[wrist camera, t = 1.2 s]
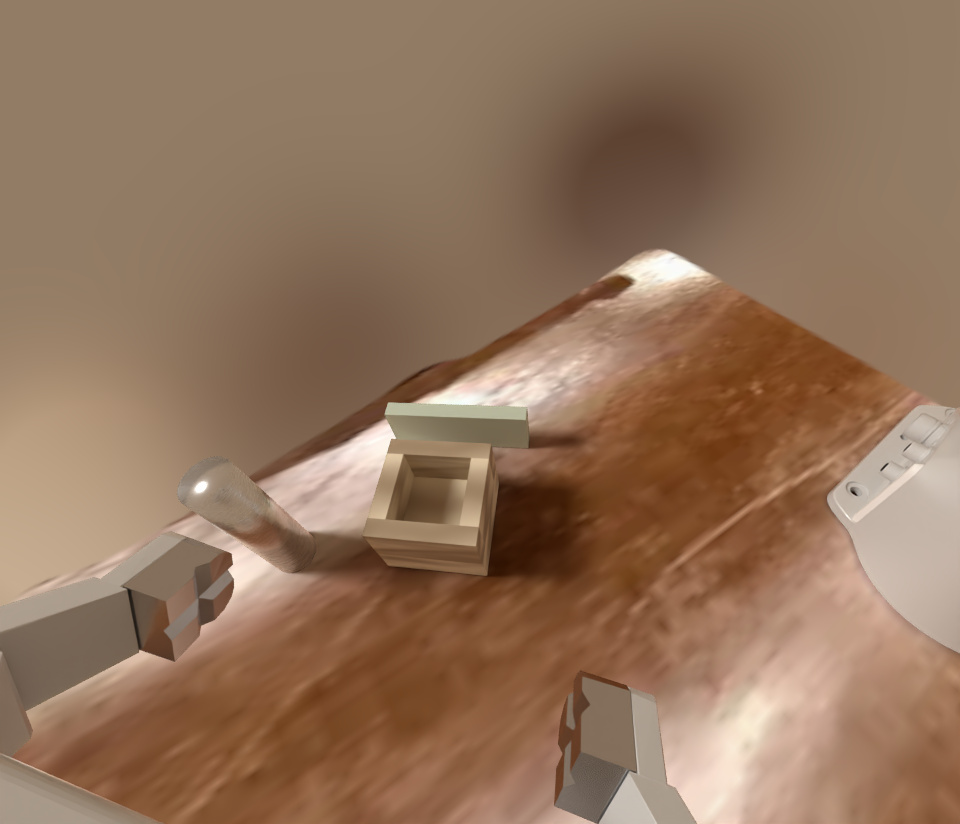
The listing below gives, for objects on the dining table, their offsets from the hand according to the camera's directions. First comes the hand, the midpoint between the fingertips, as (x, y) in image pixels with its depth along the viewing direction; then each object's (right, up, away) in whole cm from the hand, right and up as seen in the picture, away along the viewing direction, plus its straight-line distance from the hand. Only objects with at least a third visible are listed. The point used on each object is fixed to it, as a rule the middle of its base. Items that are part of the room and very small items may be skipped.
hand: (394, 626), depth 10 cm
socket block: (-1, -6, +33) cm, 33 cm away
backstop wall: (0, +2, +38) cm, 38 cm away
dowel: (-16, -8, +33) cm, 38 cm away
